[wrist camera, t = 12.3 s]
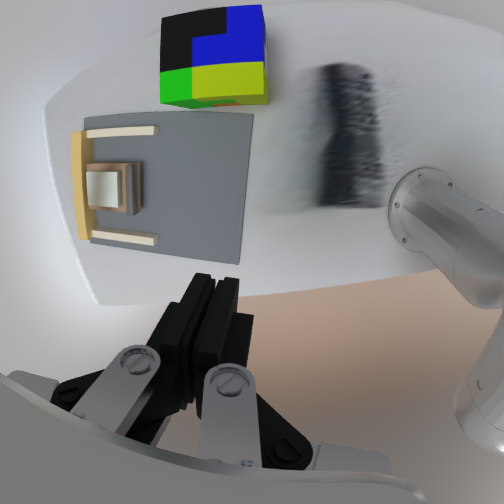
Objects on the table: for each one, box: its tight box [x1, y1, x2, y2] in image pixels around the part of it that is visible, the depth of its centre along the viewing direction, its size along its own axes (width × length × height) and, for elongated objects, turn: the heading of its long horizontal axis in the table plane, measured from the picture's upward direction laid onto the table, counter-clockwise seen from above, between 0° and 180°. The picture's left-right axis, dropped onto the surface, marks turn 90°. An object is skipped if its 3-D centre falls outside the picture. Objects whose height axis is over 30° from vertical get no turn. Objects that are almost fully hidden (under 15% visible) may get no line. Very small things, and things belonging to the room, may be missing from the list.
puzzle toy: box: [160, 5, 268, 109], centre depth 25 cm, size 10×10×10 cm
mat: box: [72, 111, 253, 265], centre depth 35 cm, size 26×21×3 cm
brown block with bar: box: [86, 162, 141, 216], centre depth 35 cm, size 9×7×4 cm
